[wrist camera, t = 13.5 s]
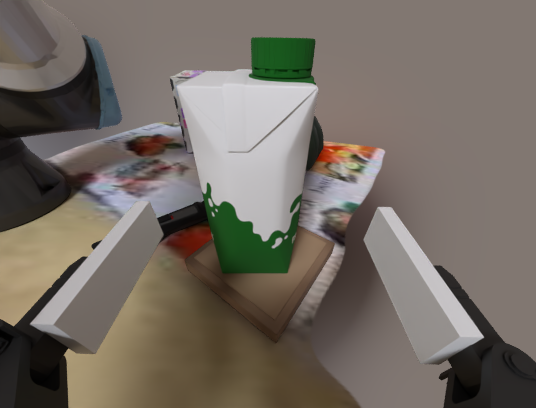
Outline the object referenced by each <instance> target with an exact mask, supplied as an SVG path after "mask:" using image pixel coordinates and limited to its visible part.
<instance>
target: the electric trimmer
mask: <svg viewBox="0 0 536 408" xmlns="http://www.w3.org/2000/svg"><path fill="white" fill-rule="evenodd" d="M206 219H208V217H207V212H206V207H205V203H204V201H203V202H202V203H201V202H195V203H194V204H192V205H190V206H187V207H184V208H182V209H179V210H177V211H174V212H172V213H169V214H166V215H164V216H161V217H159V218H157V220H158V222H159V225H160V227H161V229H162V232H163V234H164V235H163V237H162V239H163V238H164V237H165V236H166V235H168V234H171V233H173V232H176V231H179V230H181V229H184V228H186V227H189V226H191V225H194V224H196V223H199V222H201V221H204V220H206ZM162 239H161V240H162ZM161 240H160V241H161ZM101 241H102V240H101ZM101 241H98V242H96V243H94V244H92V248H93V249H95V248H96V247H97V246H98V245H99V244H100V243H101Z"/></svg>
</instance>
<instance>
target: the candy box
mask: <svg viewBox="0 0 536 408" xmlns="http://www.w3.org/2000/svg"><path fill="white" fill-rule="evenodd" d="M204 72H206V71H183V72H181V73H179V74H177V75H174V76H172V77H170V82H171V86H172V91H173V95H174V99H175V104H176V108H177V112H178V117H179V121H180V125H181V129H182V134H183V138H184V142H185V147H186V151H187V153H193V148H192V143H191V139H190V135H189V132H188V128H187V124H186V120H185V117H184V113H183V109H182V105H181V102H180V98H179V94H178V91H177V88H176V86H177V85H179V84H181V83H183V82H186V81H188V80H190V79H192V78H194V77H196V76H198V75H200V74H202V73H204Z"/></svg>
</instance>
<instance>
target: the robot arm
mask: <svg viewBox="0 0 536 408" xmlns="http://www.w3.org/2000/svg"><path fill="white" fill-rule="evenodd" d="M121 120H122V115H121V110H120V107H119V103H118V100H117V96H116V93H115V90H114V86H113V83H112V79H111V76H110V72H109V69H108V66H107V62H106V59H105V56H104V53H103V49H102V46H101V44H100V43H99V41H98V40H96V39H95V38H90V37H88V36H84V35H82V36H81V35H80V33H79V31H78V30H77V28H76V27H75V26H74V25H73V23H72V22H71V21H70V20H69V19H67V18H66V17H65V16H64V15H63V14H61V13H60V12H59V11H57V10H56V9H54V8H52V7H51V6H49V5H47V4H45V2H44V0H0V231H3V230H7V229H10V228H13V227H16V226H19V225H21V224H24V223H26V222H29V221H31V220H33V219H36V218H38V217H40V216H42V215H44V214H45V213H47V212H49V211H51V210H52V209H54V208H55V207H57V206H58V205H59V204H61V203H62V202H63V201H64V200H65V199H66V198H67V197H68V195H69V194H70V191H71V187H70V185H69V184H68V182H67V181H66V179H65V178H64V177H63V176H62V175H61V174H60V173H59V172H57V171H56V170H55V169H53V168H52V167H51V166H50V165H48V164H47V163H46V162H44V161H43V160H42V159H40V158H39V157H38V156H36V155H35V154H34V153H32V152H31V151H30V150H29V149H28V148H27V146H26V145H25V144H24V143H23V141H22V140H21V138H20V137H27V136H35V135H44V134H52V133H61V132H70V131H77V130H88V129H101V128H103V127H109V126H114V125H117V124H119V123H120V122H121ZM163 235H164V234H163V232H162V229H161V227H160V225H159V222H158V220H157V218H156V215H155V213H154V210H153V208H152V206H151V203H150V201H136V202H135V203H134V204H133V206H132V207H131V208H130V209H129V210H128V211H127V213H126V214H125V215H124V216H123V217H122V218H121V219H120V221H119V222H118V223H117V224H116V225H115V226H114V228H113V229H112V230H111V231H110V232H109V233H108V234H107V236H106V237H105V238H104V239H103V240H102V241H101V243H100V244H99V245H98V246H97V247H96V248H95V249H94V251H93V252H92V253H91V254H90V255H89V256H88V257H81V258H80V259H79V260H77V261H76V262H74V263H73V264H72V265H70V266H69V267H68V268H67V269H66V271H65V272H64V273H63V274H62V275H61V276H60V278H59V279H57V280H56V281H55V283H54V284H53V285H52V287H51V288H49V289H48V290H47V291H46V292H45V293H44V295H43V296H42V297H41V298H40V299H39V300H38V301H37V302H36V303H35V304H34V306H33V307H32V308H31V309H30V310H29V311H28V312H27V313H26V314H25V315H24V316H23V318H22V319H21V320H20V321H19V322H18V323H17V324H16V325H15V326H14V327H13V326H12V325H10V324H8V323H6V322H5V321H3V320H1V319H0V408H68V387H67V363H66V358H65V356H64V354H65V352H66V351H67V349H68V348H69V349H71V350H72V351H74V352H75V353H81V354H96V352H97V350H98V349H99V347H100V345H101V343H102V342H103V340H104V338H105V336H106V335H107V333H108V331H109V329H110V328H111V326H112V324H113V322H114V321H115V319H116V317H117V315H118V314H119V312H120V310H121V308H122V307H123V305H124V303H125V301H126V300H127V298H128V296H129V294H130V293H131V291H132V289H133V287H134V286H135V284H136V282H137V280H138V279H139V277H140V275H141V273H142V272H143V270H144V268H145V266H146V265H147V263H148V261H149V260H150V258H151V256H152V254H153V253H154V251H155V249H156V247H157V246H158V244H159V242H160V240H161V239H162V237H163ZM364 242H365V244H366V247H367V249H368V251H369V253H370V255H371V257H372V260H373V262H374V264H375V266H376V268H377V270H378V273H379V275H380V277H381V279H382V282H383V283H384V286H385V288H386V290H387V293H388V295H389V297H390V299H391V301H392V304H393V305H394V308H395V310H396V312H397V314H398V317H399V319H400V321H401V323H402V325H403V328H404V330H405V332H406V334H407V336H408V339H409V341H410V343H411V345H412V347H413V350H414V352H415V354H416V356H417V358H418V360H419V363H420V364H438V365H439V364H441V363H442V362H444V361H446V360H448V361H449V363H450V364H451V366H452V368H450V369H448V370H446V371H445V372H443V373H441V374H440V376H439V379H440V380H443V379H446V378H447V377H448V382H447V388H446V395H445V402H444V408H536V362H535V361H533V359H531V358H530V357H529V356H528V355H527V354H526V353H524V352H523V351H521V350H520V349H518V348H516V347H514V346H512V345H510V344H506V343H505V342H504V341H503V340H502V338H501V337H500V336H499V335H498V334H497V332H496V331H495V330H494V328H493V327H492V326H491V325H490V323H489V322H488V321H487V319H486V318H485V317H484V315H483V314H482V313H481V312H480V310H479V309H478V308H477V306H476V305H475V304H474V303H473V301H472V300H471V299H469V296H468V295H467V293H466V292H465V291H464V290H463V289H462V288H461V286H460V284H459V283H458V282H457V281H456V279H455V278H454V277H453V275H451V274H450V273H449V272H448V271H447V270H445V269H444V268H443V267H442V266H433V265H432V264H431V262H430V261H429V260H428V258H427V257H426V255H425V254H424V253H423V251H422V250H421V248H420V247H419V246H418V244H417V243H416V241H415V240H414V239H413V237H412V236H411V235H410V233H409V232H408V230H407V229H406V227H405V226H404V225H403V223H402V222H401V220H400V219H399V218H398V216H397V215H396V213H395V212H394V211H393V209H392V208H391V207H378V208H377V210H376V213H375V215H374V217H373V219H372V222H371V224H370V226H369V229H368V231H367V233H366V235H365V238H364Z"/></svg>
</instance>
